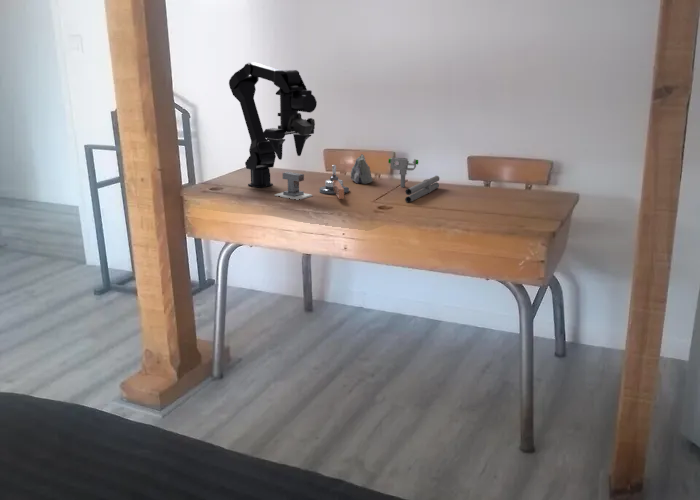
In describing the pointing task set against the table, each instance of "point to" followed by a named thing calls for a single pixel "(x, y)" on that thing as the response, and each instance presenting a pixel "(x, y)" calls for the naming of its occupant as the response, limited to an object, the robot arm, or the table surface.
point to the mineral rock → (361, 171)
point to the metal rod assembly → (424, 186)
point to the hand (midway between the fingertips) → (289, 157)
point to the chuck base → (331, 192)
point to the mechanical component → (402, 167)
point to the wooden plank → (335, 184)
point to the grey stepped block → (293, 183)
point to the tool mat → (293, 196)
